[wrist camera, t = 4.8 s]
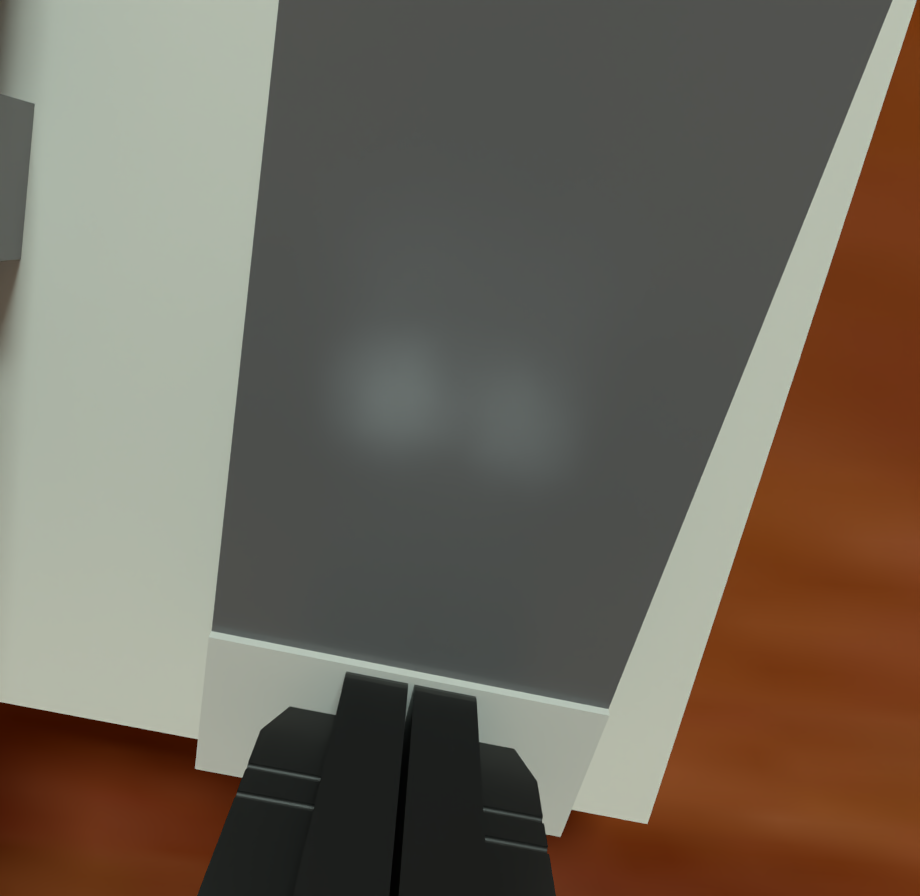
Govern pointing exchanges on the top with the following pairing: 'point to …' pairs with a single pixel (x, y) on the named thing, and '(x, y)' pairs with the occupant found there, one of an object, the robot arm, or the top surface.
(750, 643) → the top surface
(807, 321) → the switch unit
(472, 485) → the block
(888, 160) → the top surface
